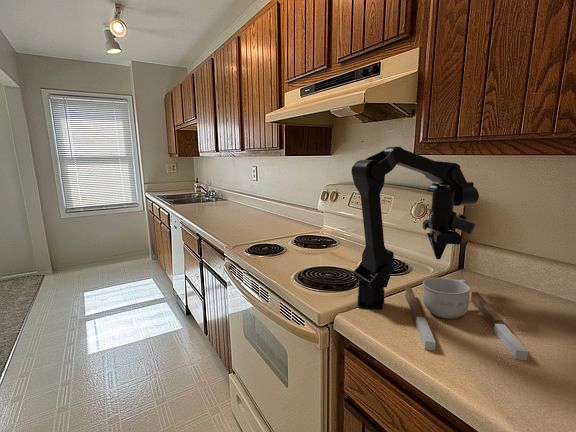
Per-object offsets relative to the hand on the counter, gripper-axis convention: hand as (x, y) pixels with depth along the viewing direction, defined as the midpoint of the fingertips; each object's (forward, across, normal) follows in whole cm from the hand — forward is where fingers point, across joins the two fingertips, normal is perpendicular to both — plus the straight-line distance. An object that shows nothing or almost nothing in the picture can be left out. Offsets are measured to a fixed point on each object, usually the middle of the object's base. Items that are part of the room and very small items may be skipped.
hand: (438, 259), depth 91 cm
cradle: (+10, -13, 0) cm, 16 cm away
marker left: (+10, -26, +8) cm, 29 cm away
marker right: (+10, -26, -9) cm, 29 cm away
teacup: (+10, -13, 0) cm, 16 cm away
